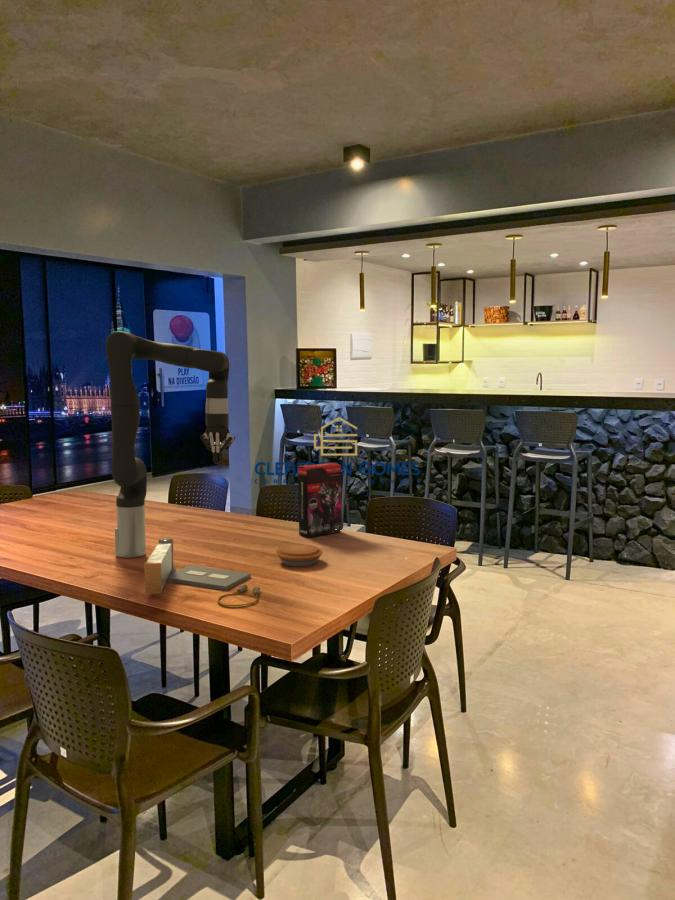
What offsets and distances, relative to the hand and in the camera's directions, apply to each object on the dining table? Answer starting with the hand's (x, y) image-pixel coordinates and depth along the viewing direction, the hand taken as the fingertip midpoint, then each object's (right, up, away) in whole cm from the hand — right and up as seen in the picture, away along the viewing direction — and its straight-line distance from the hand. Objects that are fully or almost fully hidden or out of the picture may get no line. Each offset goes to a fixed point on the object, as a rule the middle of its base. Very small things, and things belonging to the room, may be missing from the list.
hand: (217, 463), depth 229 cm
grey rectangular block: (-12, -34, -27) cm, 45 cm away
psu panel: (-3, -35, -20) cm, 40 cm away
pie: (+27, -33, -2) cm, 43 cm away
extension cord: (+14, -38, -39) cm, 56 cm away
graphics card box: (+33, -29, +38) cm, 58 cm away
